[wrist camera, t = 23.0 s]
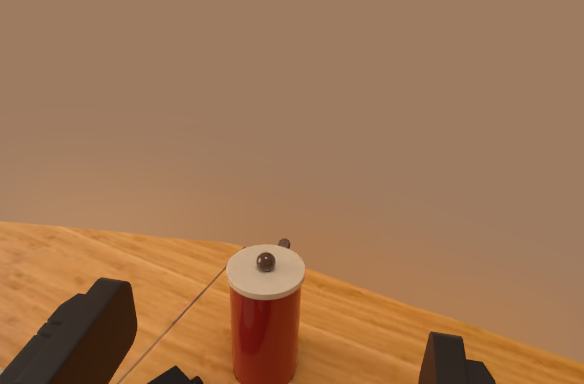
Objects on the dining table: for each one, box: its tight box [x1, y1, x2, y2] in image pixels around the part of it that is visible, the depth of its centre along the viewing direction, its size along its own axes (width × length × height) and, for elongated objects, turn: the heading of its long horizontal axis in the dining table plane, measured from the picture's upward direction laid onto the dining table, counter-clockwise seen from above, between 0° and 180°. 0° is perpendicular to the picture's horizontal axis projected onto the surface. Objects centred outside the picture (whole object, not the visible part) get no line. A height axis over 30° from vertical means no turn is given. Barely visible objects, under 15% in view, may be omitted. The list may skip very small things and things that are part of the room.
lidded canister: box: [226, 239, 305, 384], centre depth 46 cm, size 12×6×13 cm, turn 170°
